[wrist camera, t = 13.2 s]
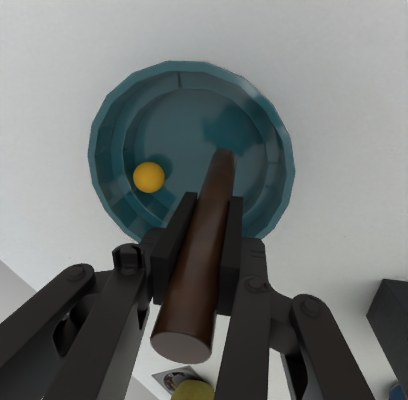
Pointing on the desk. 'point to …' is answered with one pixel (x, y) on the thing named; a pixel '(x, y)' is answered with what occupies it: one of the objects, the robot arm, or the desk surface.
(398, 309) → the holder
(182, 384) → the apple
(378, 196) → the desk surface
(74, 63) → the desk surface
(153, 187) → the ball
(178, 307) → the stick
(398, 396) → the soda can
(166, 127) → the bowl
